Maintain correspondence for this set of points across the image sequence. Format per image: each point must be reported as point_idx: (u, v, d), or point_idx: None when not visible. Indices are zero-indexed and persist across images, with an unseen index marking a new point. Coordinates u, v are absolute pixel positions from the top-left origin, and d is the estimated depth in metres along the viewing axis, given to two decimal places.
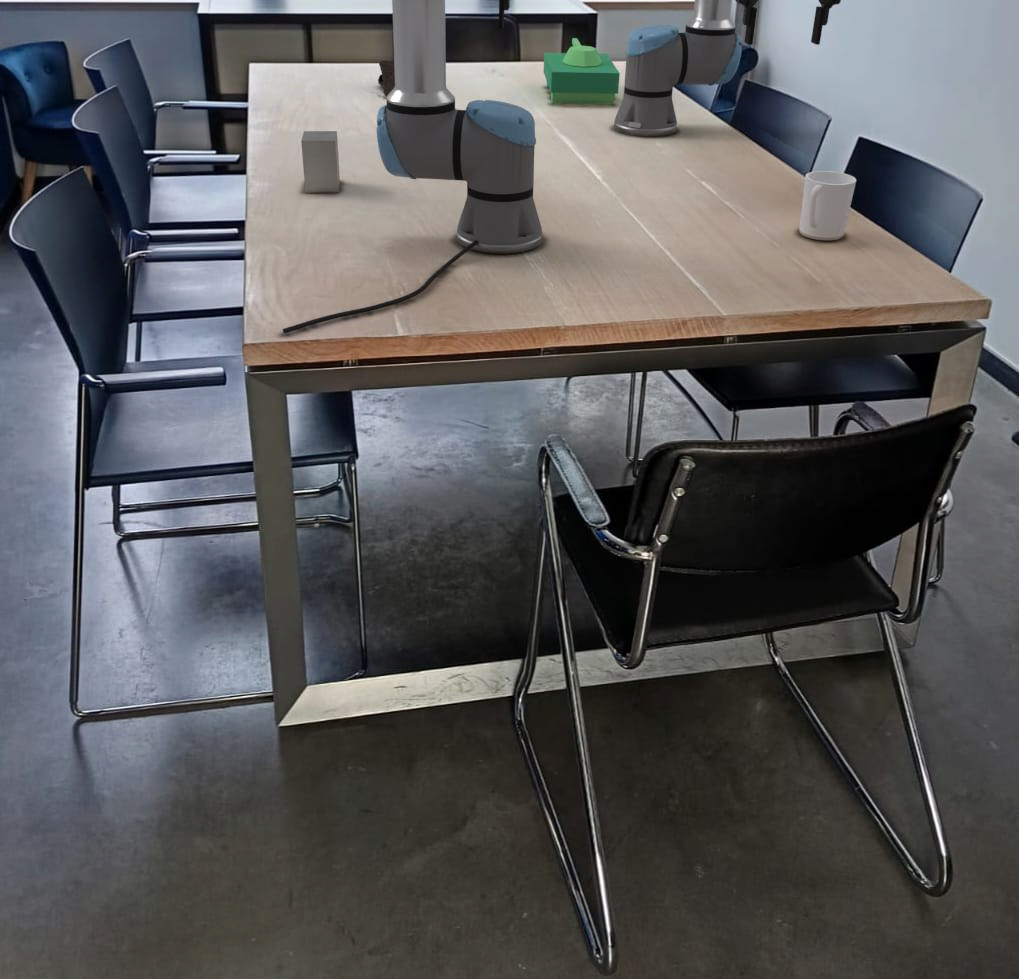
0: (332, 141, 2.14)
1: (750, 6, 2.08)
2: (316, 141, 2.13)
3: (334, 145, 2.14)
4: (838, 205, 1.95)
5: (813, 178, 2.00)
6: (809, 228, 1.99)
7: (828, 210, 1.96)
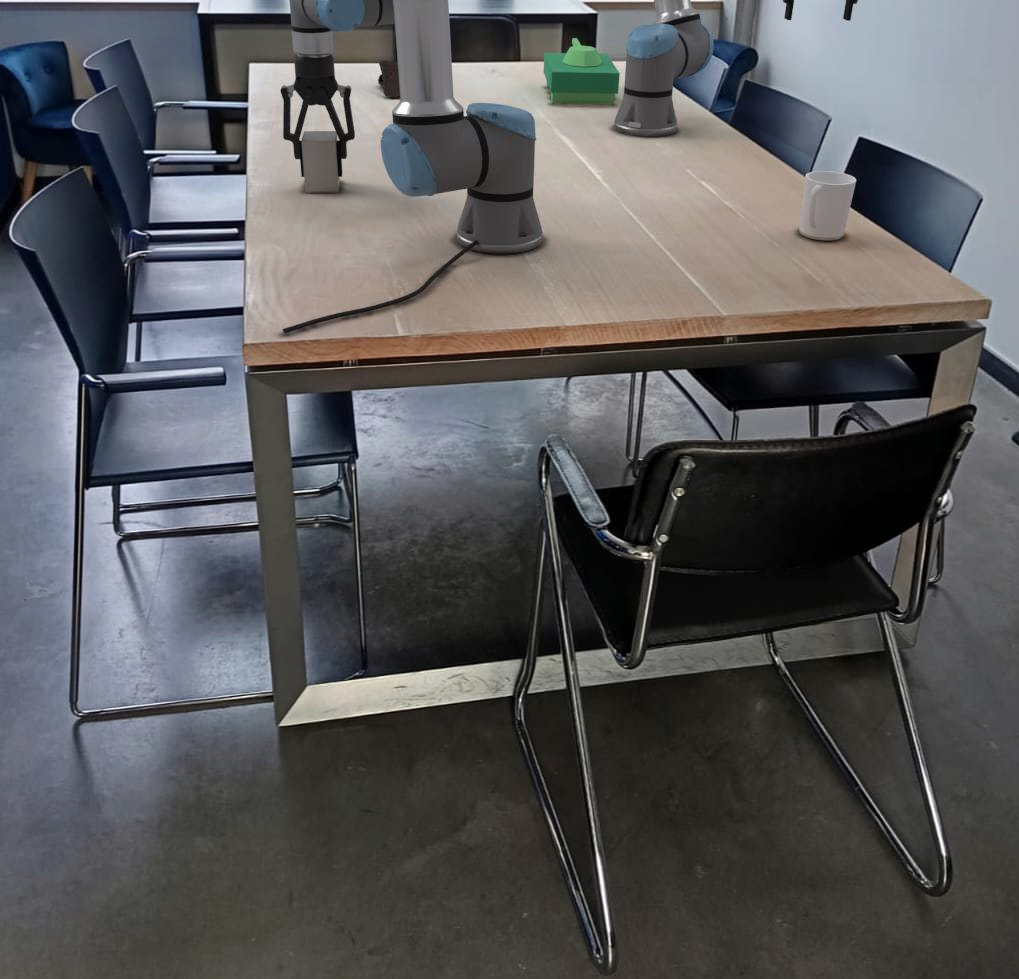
0: (332, 141, 2.14)
1: None
2: (316, 141, 2.13)
3: (334, 145, 2.14)
4: (838, 205, 1.95)
5: (813, 178, 2.00)
6: (809, 228, 1.99)
7: (828, 210, 1.96)
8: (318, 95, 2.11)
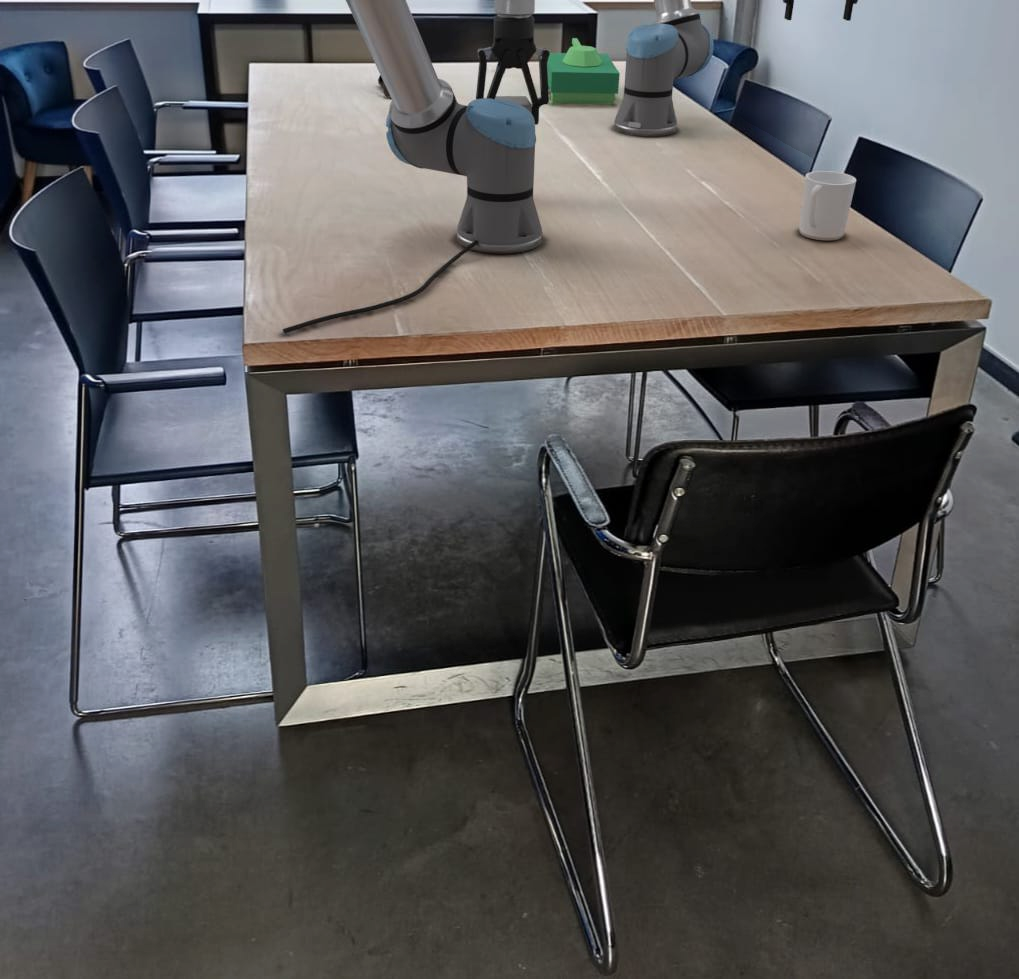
0: (528, 105, 2.08)
1: None
2: None
3: (530, 109, 2.08)
4: (838, 205, 1.95)
5: (813, 178, 2.00)
6: (809, 228, 1.99)
7: (828, 210, 1.96)
8: (516, 58, 2.05)
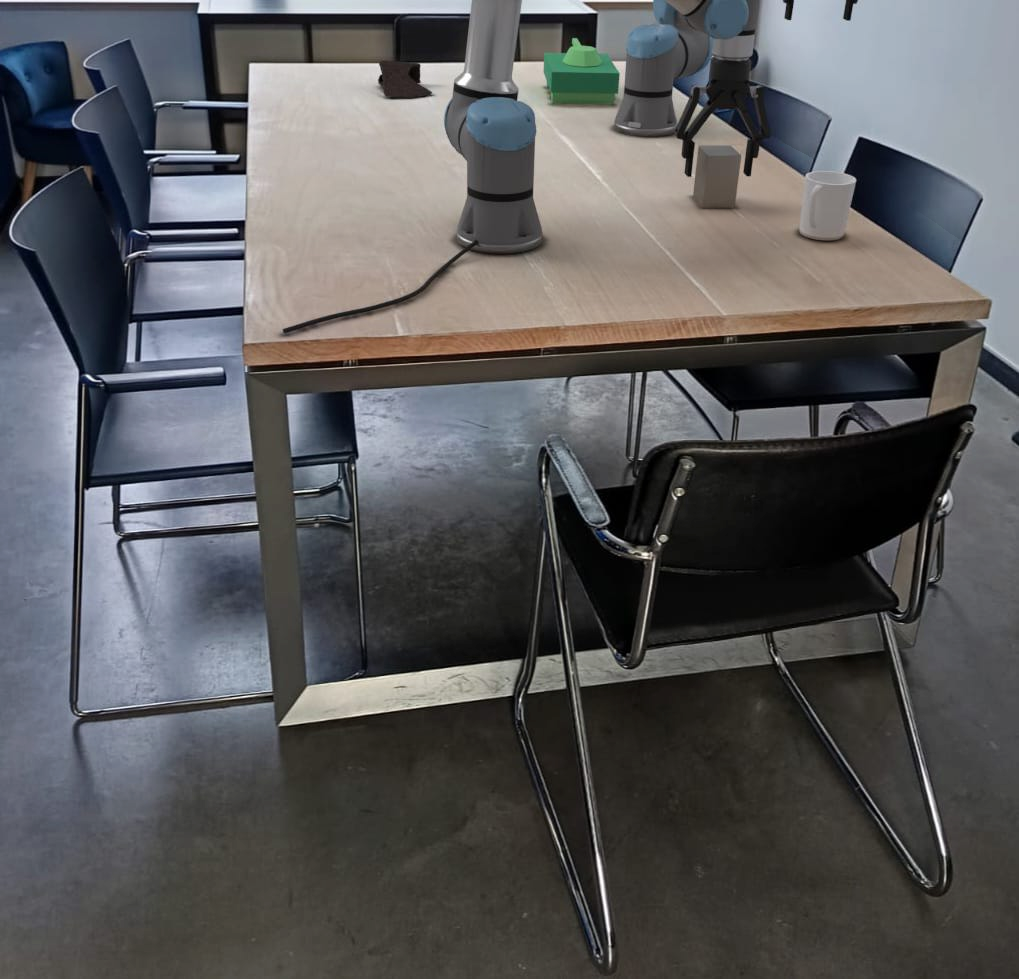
0: (738, 156, 2.10)
1: None
2: (722, 156, 2.10)
3: (739, 160, 2.10)
4: (838, 205, 1.95)
5: (813, 178, 2.00)
6: (809, 228, 1.99)
7: (828, 210, 1.96)
8: (730, 99, 2.07)
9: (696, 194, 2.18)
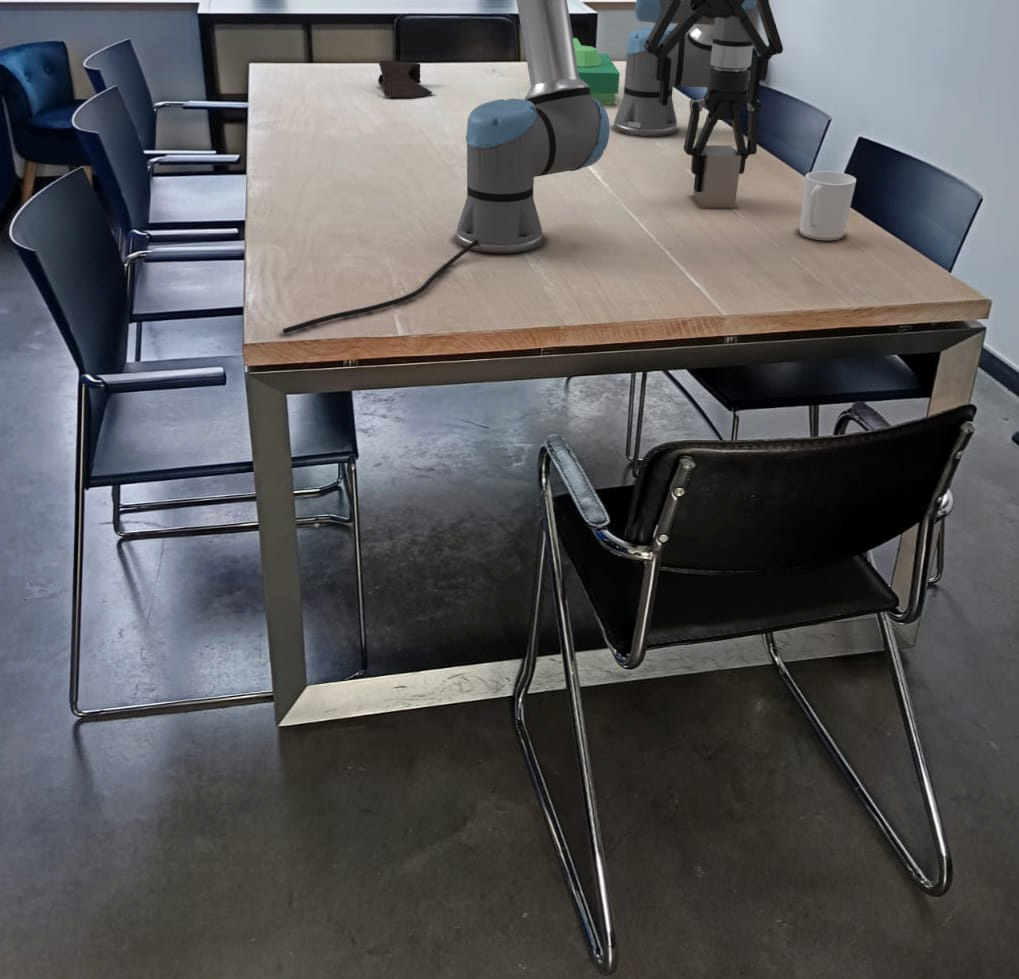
0: (738, 156, 2.10)
1: None
2: (722, 156, 2.10)
3: (739, 160, 2.10)
4: (838, 205, 1.95)
5: (813, 178, 2.00)
6: (809, 228, 1.99)
7: (828, 210, 1.96)
8: (723, 4, 1.56)
9: (696, 194, 2.18)
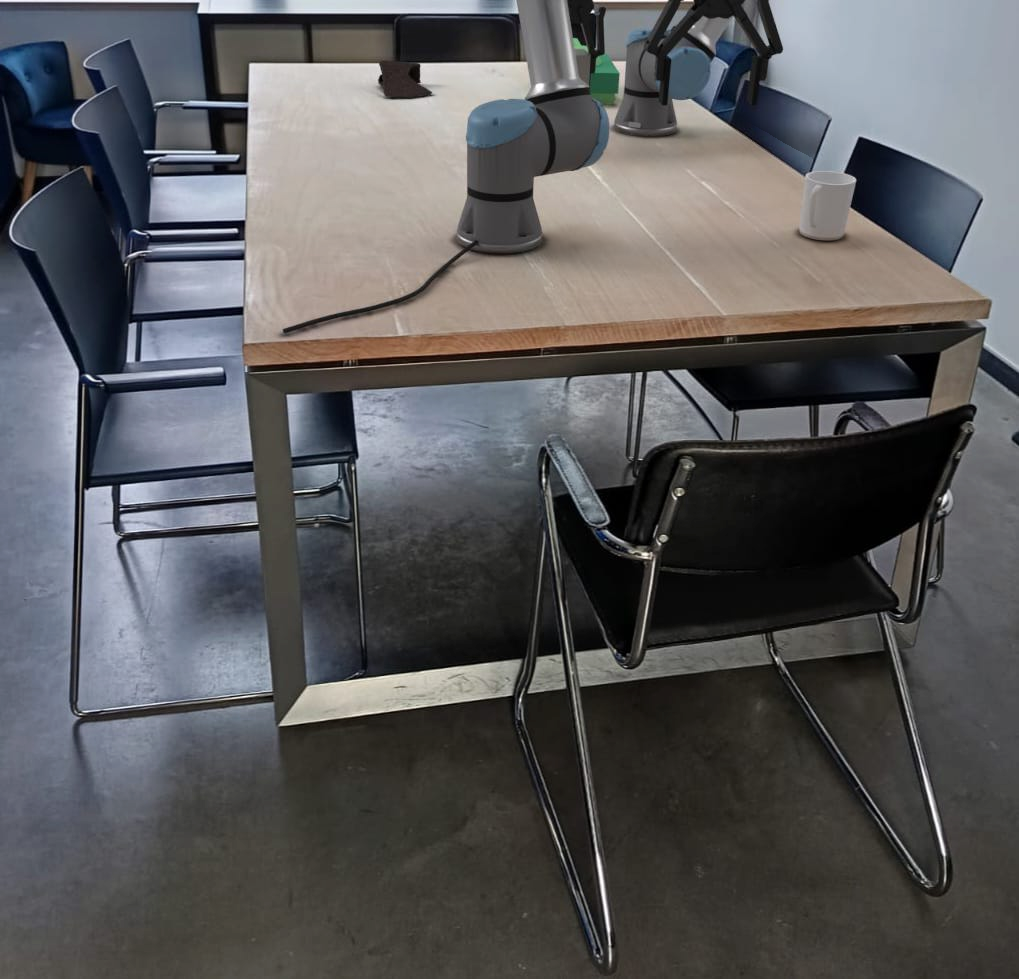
0: (587, 56, 2.37)
1: None
2: None
3: (589, 59, 2.38)
4: (838, 205, 1.95)
5: (813, 178, 2.00)
6: (809, 228, 1.99)
7: (828, 210, 1.96)
8: (723, 4, 1.56)
9: None
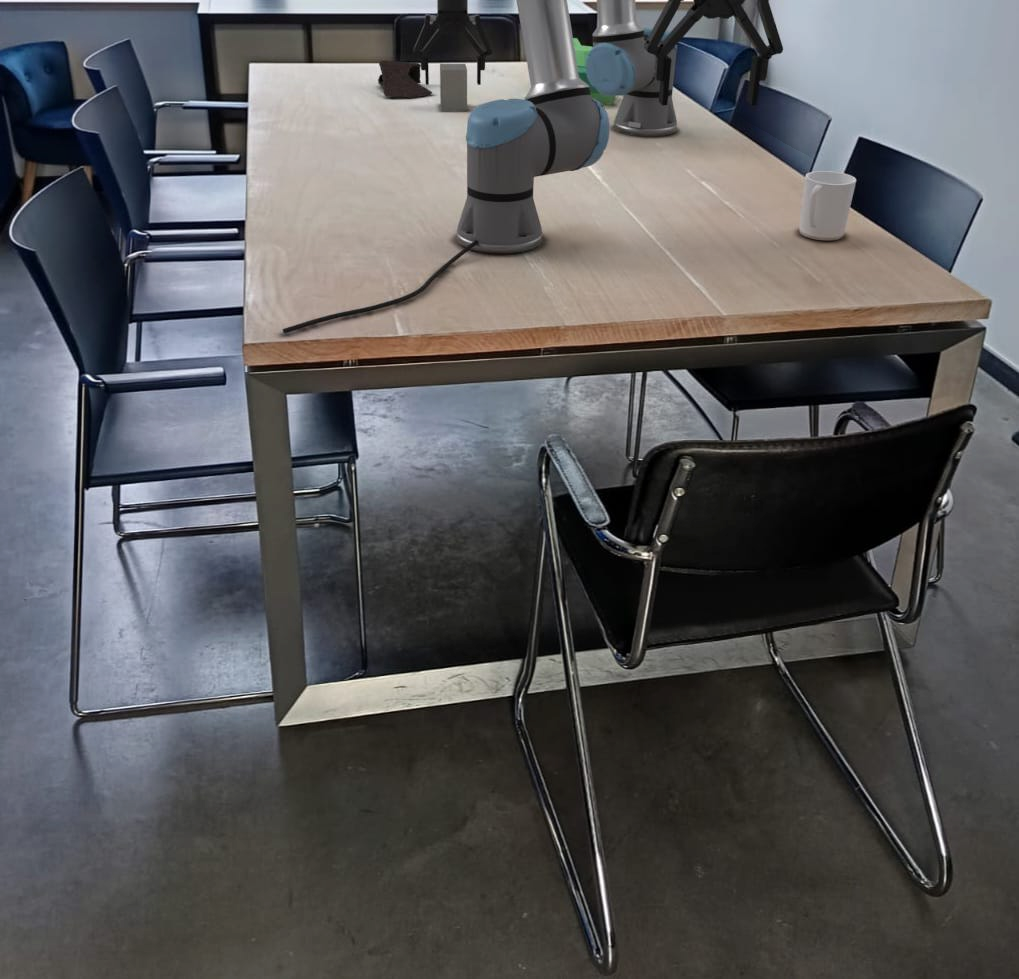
0: (464, 70, 2.76)
1: None
2: (452, 70, 2.76)
3: (466, 73, 2.77)
4: (838, 205, 1.95)
5: (813, 178, 2.00)
6: (809, 228, 1.99)
7: (828, 210, 1.96)
8: (723, 4, 1.56)
9: None
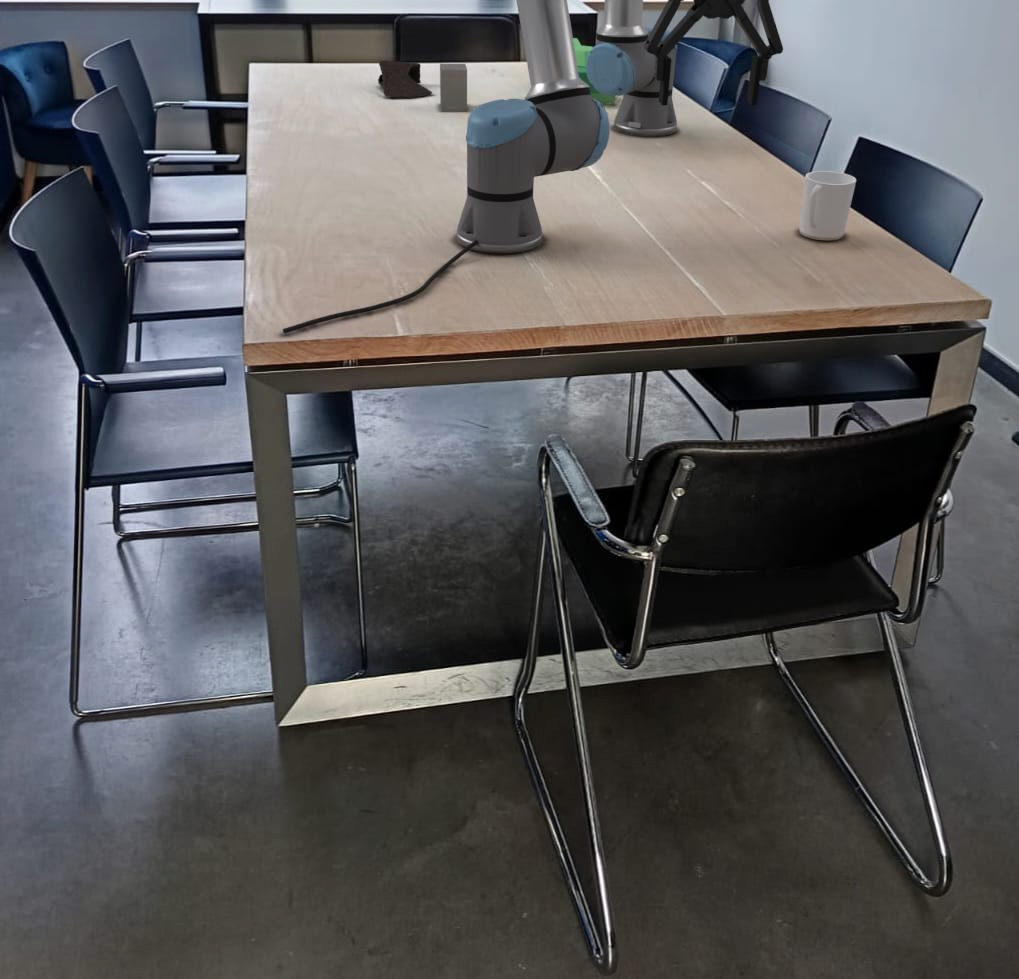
0: (464, 70, 2.76)
1: None
2: (452, 70, 2.76)
3: (466, 73, 2.77)
4: (838, 205, 1.95)
5: (813, 178, 2.00)
6: (809, 228, 1.99)
7: (828, 210, 1.96)
8: (723, 4, 1.56)
9: None
